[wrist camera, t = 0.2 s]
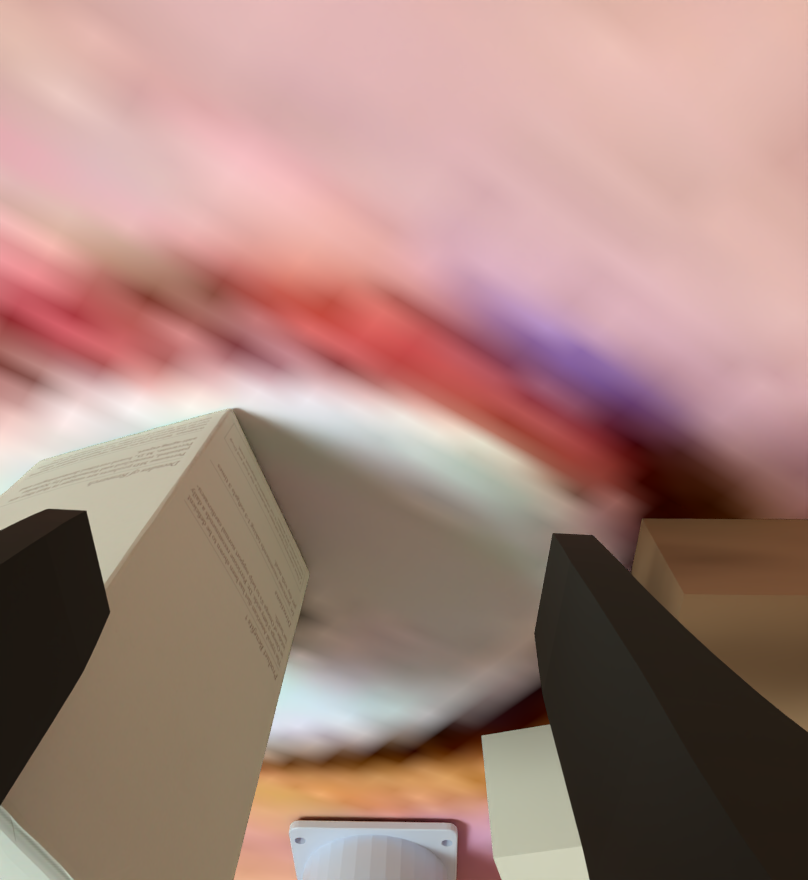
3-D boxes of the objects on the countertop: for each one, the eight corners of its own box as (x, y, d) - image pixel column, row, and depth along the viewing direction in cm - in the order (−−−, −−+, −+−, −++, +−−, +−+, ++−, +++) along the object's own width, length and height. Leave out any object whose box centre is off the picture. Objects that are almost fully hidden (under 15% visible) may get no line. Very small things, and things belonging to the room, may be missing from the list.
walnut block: (771, 645, 23) (833, 736, 20) (614, 643, 24) (648, 733, 20) (817, 516, 21) (898, 596, 17) (640, 515, 21) (684, 594, 17)
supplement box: (34, 455, 20) (-448, 858, 9) (237, 401, 19) (-27, 784, 8) (137, 616, 24) (-125, 1063, 12) (316, 578, 22) (208, 1030, 11)
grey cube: (613, 787, 28) (650, 914, 23) (505, 803, 28) (520, 929, 24) (598, 715, 25) (635, 839, 21) (481, 734, 26) (493, 858, 22)
